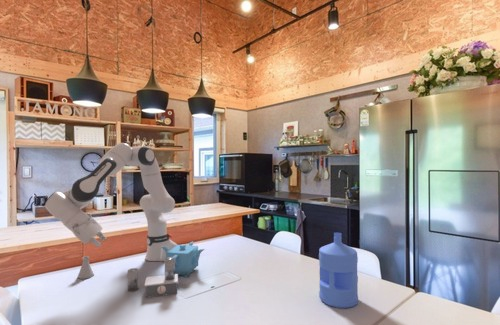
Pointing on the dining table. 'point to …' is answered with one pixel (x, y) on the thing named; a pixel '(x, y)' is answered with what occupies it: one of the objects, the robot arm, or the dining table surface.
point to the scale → (160, 286)
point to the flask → (85, 269)
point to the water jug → (338, 274)
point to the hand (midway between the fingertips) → (102, 242)
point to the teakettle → (184, 258)
